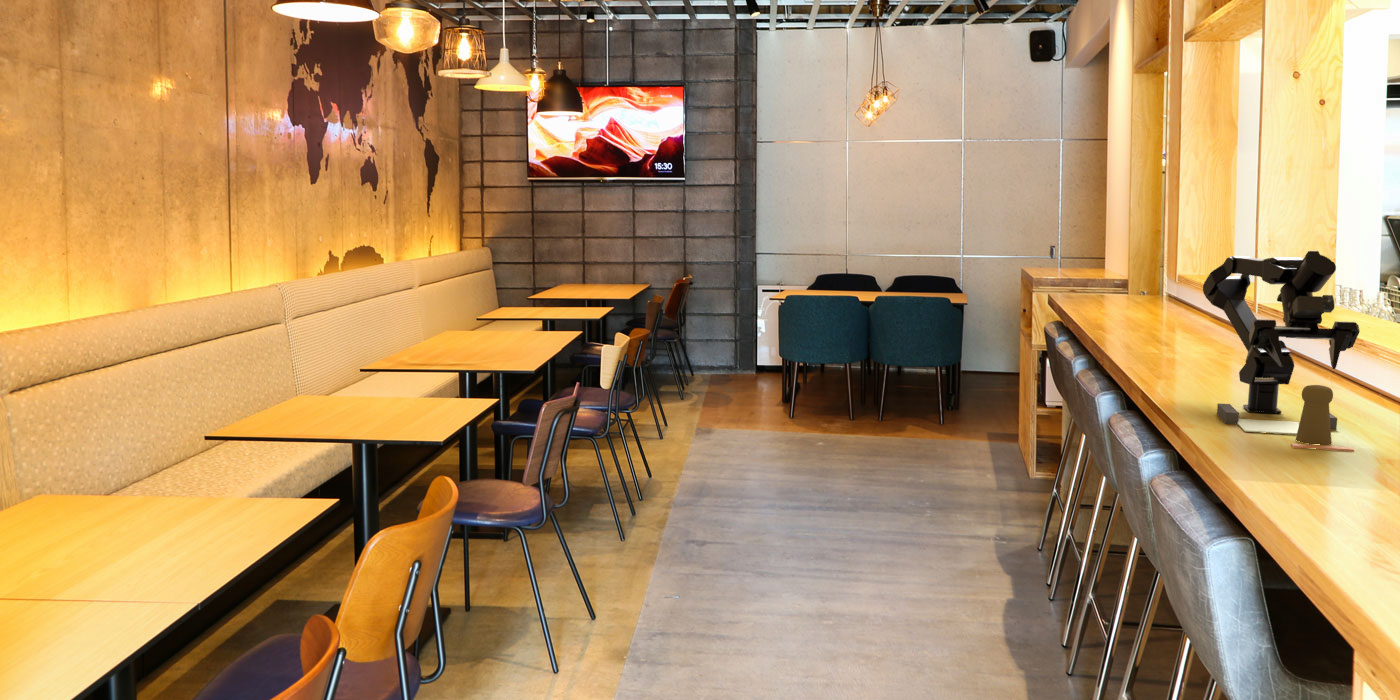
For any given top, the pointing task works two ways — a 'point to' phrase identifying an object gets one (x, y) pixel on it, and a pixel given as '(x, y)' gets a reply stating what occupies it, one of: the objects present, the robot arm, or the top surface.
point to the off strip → (1323, 447)
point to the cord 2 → (1333, 421)
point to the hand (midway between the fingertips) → (1308, 366)
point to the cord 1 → (1227, 413)
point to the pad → (1269, 426)
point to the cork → (1315, 415)
